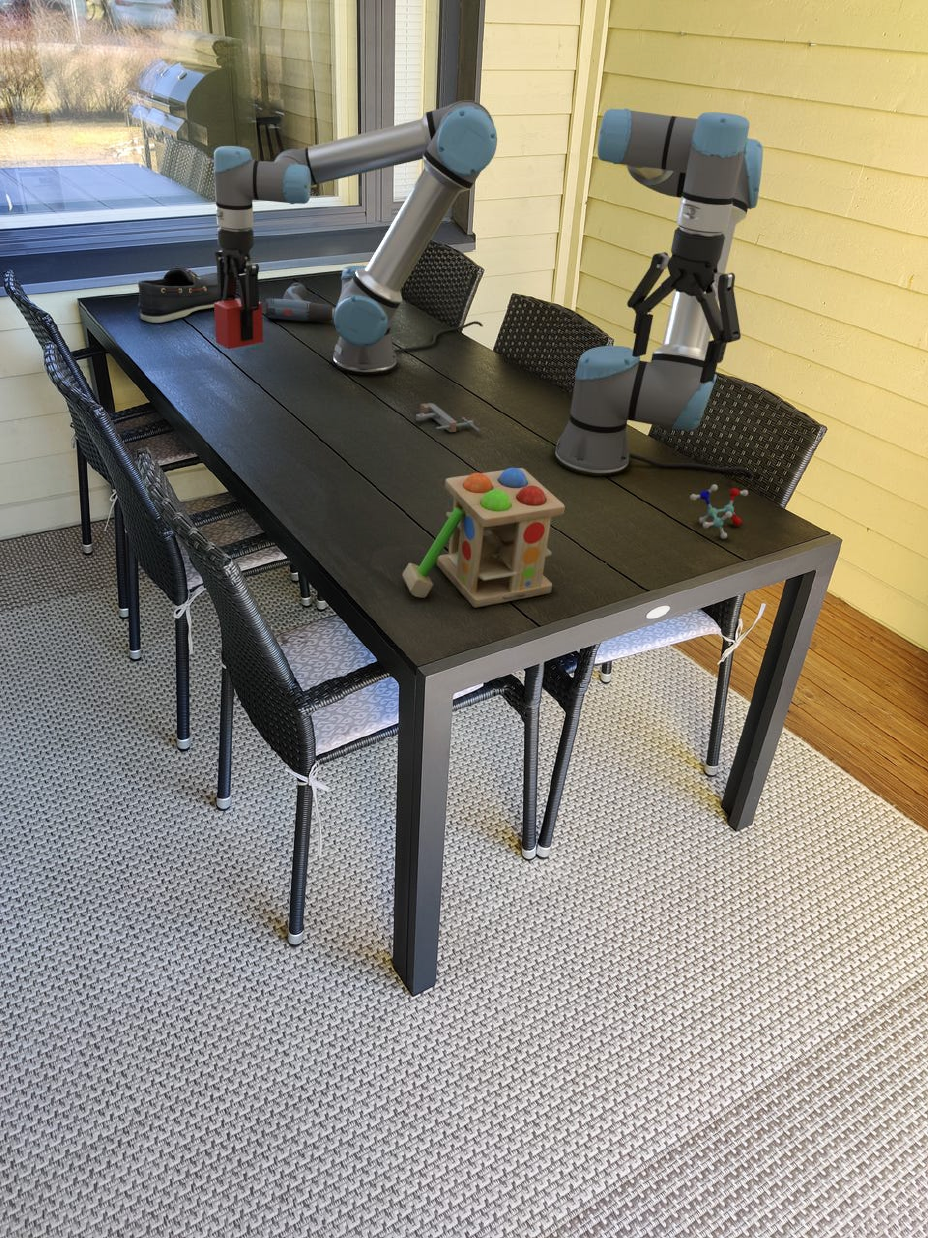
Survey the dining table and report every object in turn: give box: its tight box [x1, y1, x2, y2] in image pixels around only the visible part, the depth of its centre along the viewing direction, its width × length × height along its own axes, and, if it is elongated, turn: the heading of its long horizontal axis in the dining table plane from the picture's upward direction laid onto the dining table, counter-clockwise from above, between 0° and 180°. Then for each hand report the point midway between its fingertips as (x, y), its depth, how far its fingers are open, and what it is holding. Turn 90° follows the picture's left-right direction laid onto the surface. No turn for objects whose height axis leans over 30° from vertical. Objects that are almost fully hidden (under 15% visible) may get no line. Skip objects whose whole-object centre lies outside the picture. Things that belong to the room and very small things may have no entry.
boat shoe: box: [137, 266, 224, 324], centre depth 260 cm, size 13×33×10 cm, turn 147°
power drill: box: [264, 282, 335, 322], centre depth 265 cm, size 5×19×20 cm
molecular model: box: [689, 483, 749, 540], centre depth 181 cm, size 12×10×10 cm
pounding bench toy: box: [401, 467, 566, 608], centre depth 155 cm, size 23×14×18 cm, turn 116°
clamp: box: [415, 402, 482, 434], centre depth 211 cm, size 15×2×10 cm
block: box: [213, 298, 264, 350], centre depth 219 cm, size 5×9×9 cm, turn 134°
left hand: (239, 335), depth 221 cm, fingers closed on block, 5 cm apart
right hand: (671, 368), depth 158 cm, fingers open, 13 cm apart
